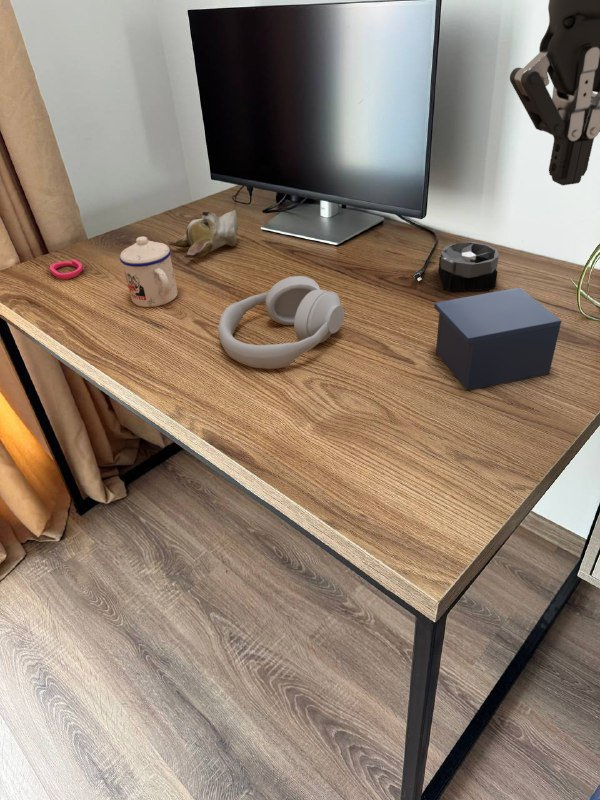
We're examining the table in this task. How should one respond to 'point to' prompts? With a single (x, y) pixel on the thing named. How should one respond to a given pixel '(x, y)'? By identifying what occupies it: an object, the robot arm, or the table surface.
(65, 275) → the fitness band
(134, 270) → the teacup with lid
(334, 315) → the headphones
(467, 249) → the cpu cooler
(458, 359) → the chest
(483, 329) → the lid
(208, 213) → the ceramic sculpture
